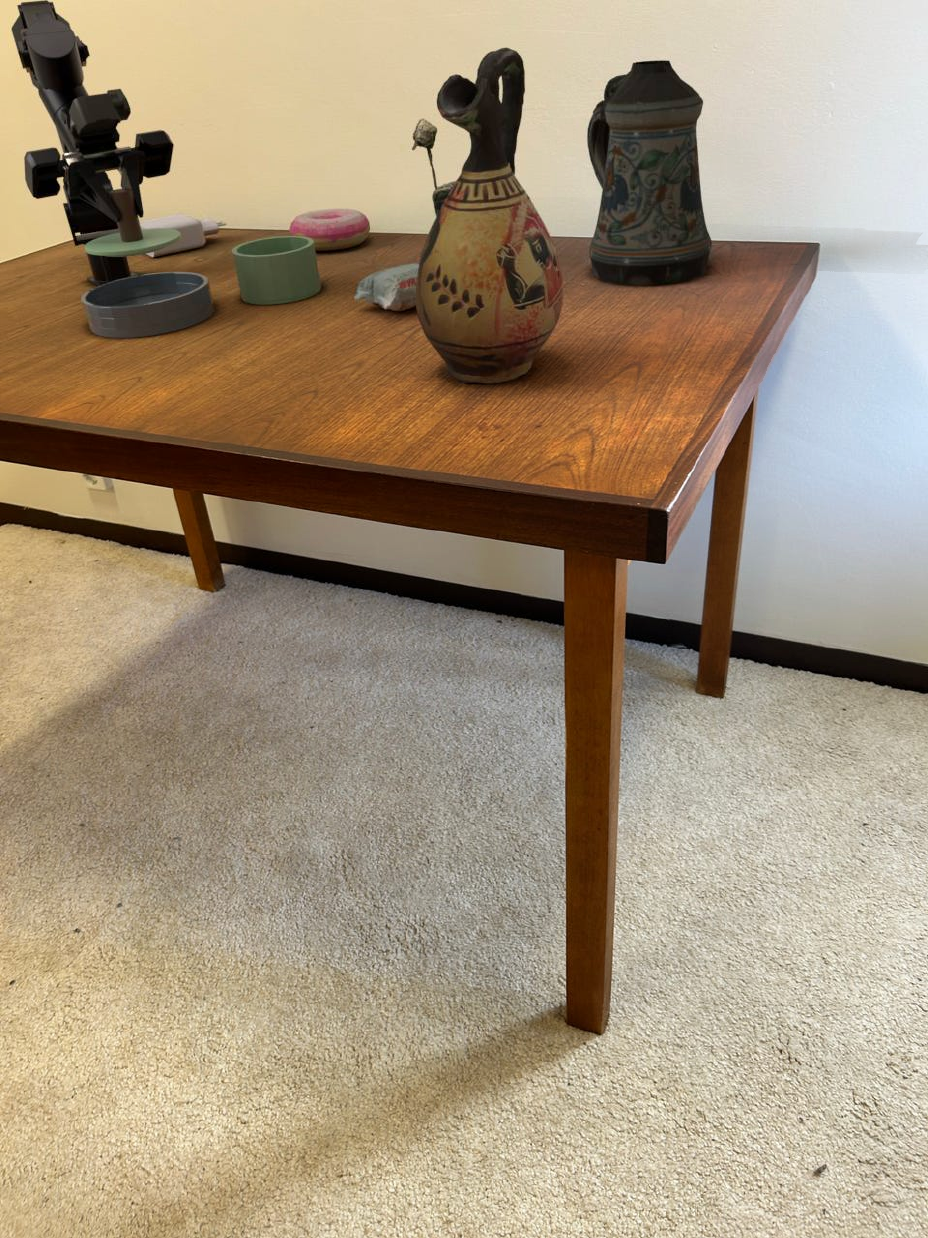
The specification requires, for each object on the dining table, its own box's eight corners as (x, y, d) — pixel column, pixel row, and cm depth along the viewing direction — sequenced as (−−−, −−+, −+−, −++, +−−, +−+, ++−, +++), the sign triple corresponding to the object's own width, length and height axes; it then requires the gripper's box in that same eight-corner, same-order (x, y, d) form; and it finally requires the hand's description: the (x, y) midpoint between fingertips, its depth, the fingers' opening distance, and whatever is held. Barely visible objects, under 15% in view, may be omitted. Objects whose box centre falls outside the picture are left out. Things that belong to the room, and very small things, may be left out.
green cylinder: (228, 294, 137) (218, 248, 133) (296, 277, 142) (288, 232, 139) (264, 309, 129) (255, 260, 126) (335, 290, 135) (328, 242, 131)
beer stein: (686, 290, 122) (699, 67, 108) (550, 280, 130) (545, 73, 116) (725, 257, 133) (741, 52, 119) (598, 250, 142) (599, 58, 128)
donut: (367, 252, 152) (363, 219, 149) (285, 258, 153) (280, 225, 150) (375, 232, 163) (371, 202, 160) (299, 238, 164) (294, 208, 161)
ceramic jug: (521, 404, 94) (505, 58, 77) (396, 384, 102) (357, 64, 85) (594, 349, 106) (595, 37, 89) (477, 335, 113) (457, 44, 96)
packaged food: (462, 301, 125) (459, 263, 122) (387, 323, 120) (382, 283, 117) (426, 290, 131) (422, 253, 128) (353, 310, 126) (347, 272, 123)
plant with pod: (464, 278, 135) (452, 122, 123) (409, 268, 141) (393, 119, 130) (501, 264, 139) (493, 112, 128) (446, 256, 146) (434, 110, 135)
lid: (87, 245, 128) (71, 189, 124) (179, 232, 131) (166, 176, 127) (85, 265, 119) (68, 205, 115) (185, 251, 121) (171, 191, 117)
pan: (73, 321, 132) (64, 292, 130) (184, 293, 140) (177, 265, 137) (116, 346, 120) (107, 315, 118) (234, 314, 128) (228, 284, 126)
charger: (237, 241, 166) (154, 258, 160) (217, 233, 173) (138, 250, 166) (231, 212, 163) (147, 229, 157) (212, 206, 170) (130, 221, 164)
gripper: (-1, 77, 111) (59, 187, 110) (148, 58, 120) (205, 161, 119) (4, 145, 121) (59, 248, 120) (141, 124, 130) (194, 219, 129)
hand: (130, 217), depth 122 cm, fingers closed on lid, 3 cm apart
